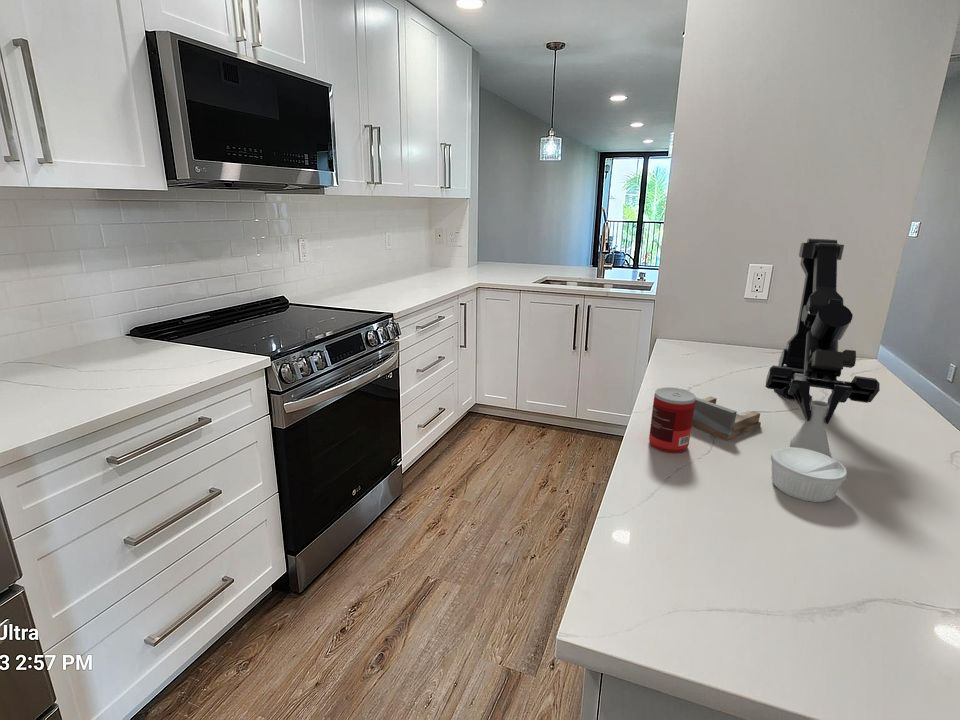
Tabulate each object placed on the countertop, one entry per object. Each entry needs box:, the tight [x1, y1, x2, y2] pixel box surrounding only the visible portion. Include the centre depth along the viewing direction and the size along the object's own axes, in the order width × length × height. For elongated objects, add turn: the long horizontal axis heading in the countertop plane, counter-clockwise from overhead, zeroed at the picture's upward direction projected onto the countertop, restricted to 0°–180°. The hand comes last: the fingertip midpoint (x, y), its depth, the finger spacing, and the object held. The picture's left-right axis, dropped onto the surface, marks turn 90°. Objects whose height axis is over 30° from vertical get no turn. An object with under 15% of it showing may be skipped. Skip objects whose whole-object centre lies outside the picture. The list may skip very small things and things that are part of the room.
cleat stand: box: [691, 396, 762, 441], centre depth 118 cm, size 13×13×6 cm
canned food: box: [648, 387, 696, 454], centre depth 106 cm, size 8×8×11 cm
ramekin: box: [770, 446, 848, 503], centre depth 92 cm, size 11×11×5 cm
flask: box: [789, 400, 831, 457], centre depth 106 cm, size 7×7×10 cm
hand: (817, 421), depth 104 cm, fingers closed on flask, 3 cm apart
